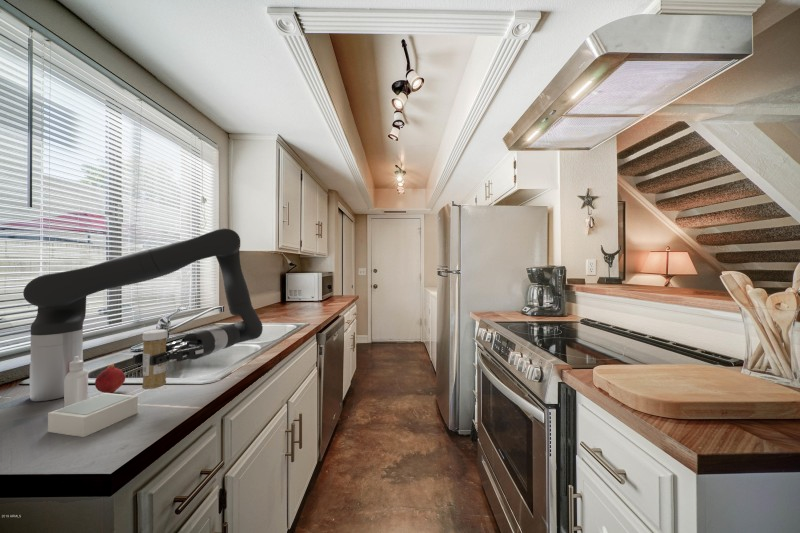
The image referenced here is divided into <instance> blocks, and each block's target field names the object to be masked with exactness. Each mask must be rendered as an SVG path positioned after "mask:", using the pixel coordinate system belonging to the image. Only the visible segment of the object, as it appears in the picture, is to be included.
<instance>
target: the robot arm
mask: <svg viewBox="0 0 800 533" xmlns="http://www.w3.org/2000/svg"><path fill="white" fill-rule="evenodd" d="M240 249H241V238H240V235H239V234H238V233H237V231H235V230H233V229H230V228H224V227H223V228H217V229H214V230H212V231H209V232H207V233H203V234H201V235H198V236H195V237H191V238H189V239H185V240H180V241H179V240H178V241H175V242H171V243H166V244H162V245H157V246H153V247H150V248H144V249H141V250H138V251H134V252H130V253H127V254H124V255H121V256H118V257H114V258H111V259H108V260H106V261H102V262H100V263H96V264H93V265H90V266H85V267H79V268H76V269H71V270H66V271H59V272H53V273H47V274H43V275H39V276H37V277H35V278H33V279H32V280H31V281H29V282H28V283H27V284H26V285H25V286H24V288H23V292H22V294H23V297H24V300H25V301H26V302H27V303H29V304H30V305H33V306H34V307H37V314H36V317H35V319H34V320H33V322H32V323H31V324H30V363H29V398H30V400H29V401H32V402H45V401H52V400H56V399H61V398H64V379H65V376H66V375H67V374H68V373H69V372H70V371H69V363H70V362H72V361H73V360H74V357H75V356H79V359H80V360H83V361H84V358H83V357H84V354H83V353H84V352H83V348H84V346H83V344H84V340H83V339H84V338H83V336H84V334H83V332H84V331H83V328H84V327H83V326H84V321H85V319H86V314H87V310H86V309H87V296H90V295H93V294H96V293H98V292H102V291H105V290H109V289H113V288H119V287H124V286H129V285H135V284H138V283H143V282H147V281H151V280H154V279H157V278H161V277H164V276H168V275H169V274H173V273H175V272H177V271H179V270H181V269H183V268H185V267H187V266H189V265H190V264H193V263H196V262H198V261H200V260H204V259H208V258H209V259H210V258H213V257H215V258H216V260H217V262H218V264H219V268H220V270H221V274H222V278H223V286H224V292H225V298H226V302H227V303H226V304H227V307H228V311H229V313H230V315H232V316H239V317H240V318H241V319H242V321H238V322H234V323H230V324H226V325H221V326H217V327H211V328H204V329H201V330H200V329H199V330H197V331H192V332H189V333H187V334H185V335H184V336H183V337H182V339H181V340H178V341H177V340H176V341H173V342H171V343H170V342H169V343H166V352H164V353H161V354H157V355H154V356H151V357H150V365H151V366H155V365H158V364H161V363H164V362H166V363H167V362H170V363H171V362H174V361H176V362H182V361H187V360H193V361H194V360H197V359H201V358H203V357H206V356H209V355H212V354H215V353H217V352H219V351H221V350H224V349H225V350H226V349H228V348H230V347H232V346H234V345H236V344H240V343H242V342H247V341H251V340H256V339H258V338H260V337H261V335H262V333H263V324H262V320H261V319H260V317H259V316H258V313H257V312H256V310H255V309H254V307H253V305H252V300H251V296H250V292H249V289H248V285H247V282H246V280H245V277H244V276H245V275H244V274H243V270H242V266H241V260H240V259H241V258H240ZM132 364H133V365H138V364H143V352H139V353H135V354H134V355H133V356H132Z"/></svg>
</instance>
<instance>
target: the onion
mask: <svg viewBox="0 0 800 533" xmlns="http://www.w3.org/2000/svg"><path fill="white" fill-rule="evenodd" d="M94 381H95V382H94V385H95V388H96V389H97V391H99V392H100V393H102V394H103V393H113V394H115V392H116V391H117V390H118V389H119V388H120V387H122V386H123V384H125V381H126V374H125V373H124V372H123V370H122V369H120V368H117V367H115V364H114V363H113V364H109V365H108V366H107V367H106V368H105V369H104V370H102V371H101V372H100V373H99V374H98V375H97V376H96V378H95V380H94Z"/></svg>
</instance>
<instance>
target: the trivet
mask: <svg viewBox="0 0 800 533" xmlns="http://www.w3.org/2000/svg"><path fill="white" fill-rule="evenodd" d="M138 398H139V397H138V395H130V394H120V393H103V392H102V393H101V394H97V395H95V396H91V397H88V399H86V400H83V401H80V402H78V403H75V404H72V405H69V406H66V407H64V406H63V407H61V408H58V409H56V410H53V411H49V412H48V413H47V432H48V433H53V434H59V435H67V436H75V437H79V438H80V437H82V438H86V437H87V436H89V435H92V434H93V433H94V434H95V433H96V432H98V431H99V432H100V431H101V430H103V429H105V428H107V427H110V426H112V425H113V424H114V425H115V424H116V423H118V422H120V421H123V420H125V419H128V418H129V417H132V416H134V415H136V414H138V412H139V411H138V410H139V408H138V407H139V404H138V403H139V399H138Z"/></svg>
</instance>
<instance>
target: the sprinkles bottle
mask: <svg viewBox="0 0 800 533" xmlns="http://www.w3.org/2000/svg"><path fill="white" fill-rule="evenodd" d="M167 338H168V330H167V329H161V328H160V329H152V330H151V329H150V330H146V331H144V332H142V342H143V343H142V344H143V346H142V347H143V350H142V353H143V362H142V385H141V388H142V389H143V390H153V389H157V388H161V387H164V386H165V385H167V379H166V377H167V376H166V375H167V374H166V371H167V362H164V363H161V364H158V365H155V366H151V365H150V357H151V356H154V355H157V354H161V353H164V352H166V344H167Z"/></svg>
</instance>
